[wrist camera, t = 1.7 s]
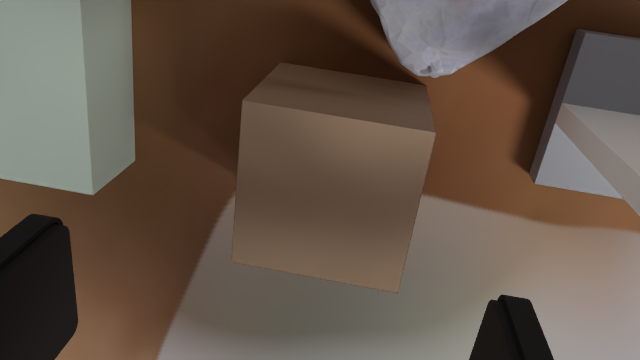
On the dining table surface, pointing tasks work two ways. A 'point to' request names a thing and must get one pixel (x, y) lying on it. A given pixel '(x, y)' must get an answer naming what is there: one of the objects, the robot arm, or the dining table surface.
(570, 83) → the picture card
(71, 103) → the sage block
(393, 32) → the stone block
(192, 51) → the dining table surface
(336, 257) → the walnut block
